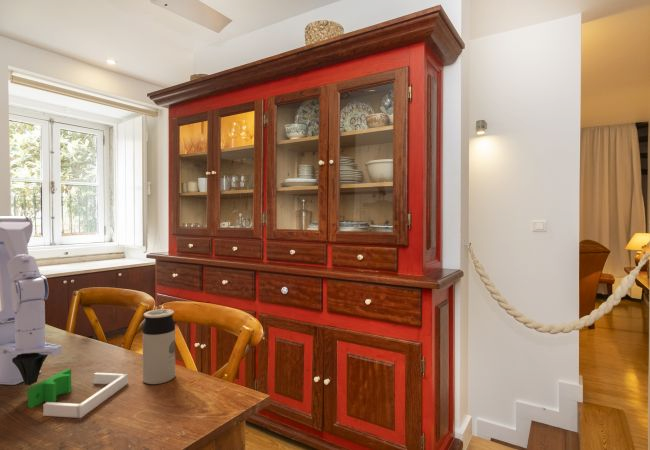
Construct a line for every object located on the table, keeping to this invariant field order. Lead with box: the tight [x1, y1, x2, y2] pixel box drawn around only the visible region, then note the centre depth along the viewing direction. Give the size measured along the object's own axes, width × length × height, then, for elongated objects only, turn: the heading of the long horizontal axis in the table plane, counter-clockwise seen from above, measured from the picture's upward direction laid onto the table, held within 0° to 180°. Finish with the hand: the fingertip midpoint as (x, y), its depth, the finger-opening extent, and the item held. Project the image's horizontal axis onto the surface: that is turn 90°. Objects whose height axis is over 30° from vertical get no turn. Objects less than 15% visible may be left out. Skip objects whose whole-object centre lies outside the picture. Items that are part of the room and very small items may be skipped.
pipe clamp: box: [27, 368, 72, 409], centre depth 90 cm, size 11×4×5 cm, turn 173°
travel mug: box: [142, 308, 176, 385], centre depth 100 cm, size 8×8×18 cm
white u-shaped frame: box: [42, 372, 129, 419], centre depth 89 cm, size 9×17×2 cm, turn 175°
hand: (31, 383), depth 90 cm, fingers closed
